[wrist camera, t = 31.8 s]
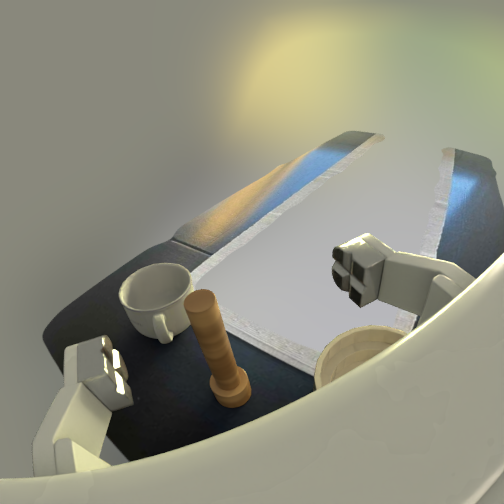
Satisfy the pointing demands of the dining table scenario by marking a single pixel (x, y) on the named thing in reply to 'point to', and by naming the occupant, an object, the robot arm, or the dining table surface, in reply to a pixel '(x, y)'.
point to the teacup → (157, 300)
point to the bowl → (352, 351)
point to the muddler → (217, 349)
